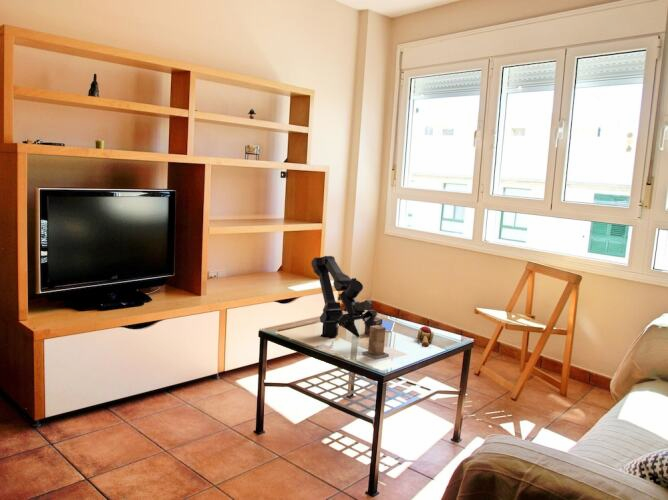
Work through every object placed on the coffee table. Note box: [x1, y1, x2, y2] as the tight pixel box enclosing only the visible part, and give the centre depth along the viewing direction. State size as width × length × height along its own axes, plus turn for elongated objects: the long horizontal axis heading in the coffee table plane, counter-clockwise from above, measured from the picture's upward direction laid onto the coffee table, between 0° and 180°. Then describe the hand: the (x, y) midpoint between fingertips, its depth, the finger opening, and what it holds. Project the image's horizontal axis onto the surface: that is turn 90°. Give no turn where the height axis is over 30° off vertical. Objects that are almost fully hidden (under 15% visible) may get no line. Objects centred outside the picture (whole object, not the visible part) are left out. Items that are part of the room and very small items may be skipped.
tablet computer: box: [382, 320, 396, 333], centre depth 286 cm, size 19×13×1 cm, turn 169°
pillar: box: [367, 325, 386, 356], centre depth 235 cm, size 4×4×12 cm
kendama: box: [416, 325, 435, 348], centre depth 263 cm, size 8×6×18 cm
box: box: [364, 317, 384, 335], centre depth 270 cm, size 6×6×7 cm
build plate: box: [355, 346, 408, 363], centre depth 238 cm, size 12×19×2 cm, turn 132°
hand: (366, 335), depth 239 cm, fingers open, 9 cm apart
